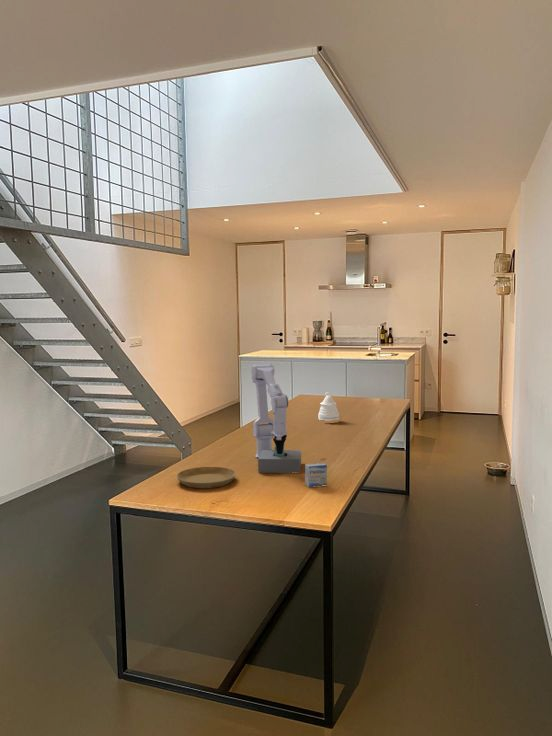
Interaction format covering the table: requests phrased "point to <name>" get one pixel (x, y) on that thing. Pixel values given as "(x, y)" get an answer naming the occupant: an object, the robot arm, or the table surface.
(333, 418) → the honey pot
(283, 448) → the teal rectangular block
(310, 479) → the medicine box
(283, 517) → the table surface
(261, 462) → the gray slotted box
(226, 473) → the plant saucer
